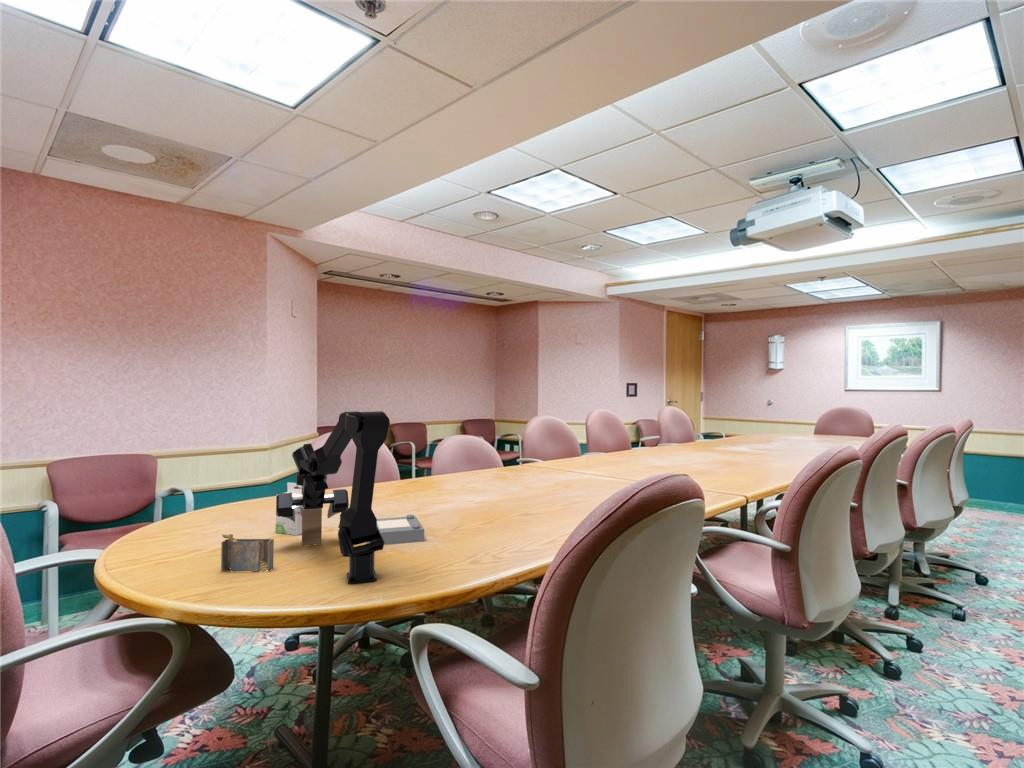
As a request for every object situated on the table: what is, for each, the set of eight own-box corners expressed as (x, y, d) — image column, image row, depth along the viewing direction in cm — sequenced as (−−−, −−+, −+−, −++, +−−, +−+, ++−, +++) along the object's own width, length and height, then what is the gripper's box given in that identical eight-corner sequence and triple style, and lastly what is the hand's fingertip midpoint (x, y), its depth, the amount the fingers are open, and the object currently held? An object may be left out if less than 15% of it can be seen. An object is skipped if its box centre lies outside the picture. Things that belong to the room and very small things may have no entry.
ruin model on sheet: (220, 574, 126) (220, 534, 126) (226, 570, 129) (227, 530, 129) (268, 574, 126) (268, 534, 126) (273, 570, 129) (273, 530, 129)
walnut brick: (321, 544, 149) (321, 509, 149) (302, 546, 147) (302, 510, 147) (320, 539, 154) (320, 505, 154) (301, 541, 152) (302, 506, 152)
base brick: (424, 541, 153) (424, 526, 153) (367, 546, 148) (367, 530, 148) (415, 527, 168) (415, 513, 168) (363, 531, 163) (364, 517, 163)
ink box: (274, 533, 160) (275, 484, 160) (286, 529, 164) (286, 481, 164) (297, 536, 157) (298, 486, 157) (308, 531, 162) (309, 483, 162)
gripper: (348, 461, 151) (342, 492, 161) (276, 464, 143) (276, 497, 153) (351, 494, 143) (345, 524, 153) (276, 499, 136) (275, 531, 146)
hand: (311, 518), depth 152 cm, fingers open, 9 cm apart
